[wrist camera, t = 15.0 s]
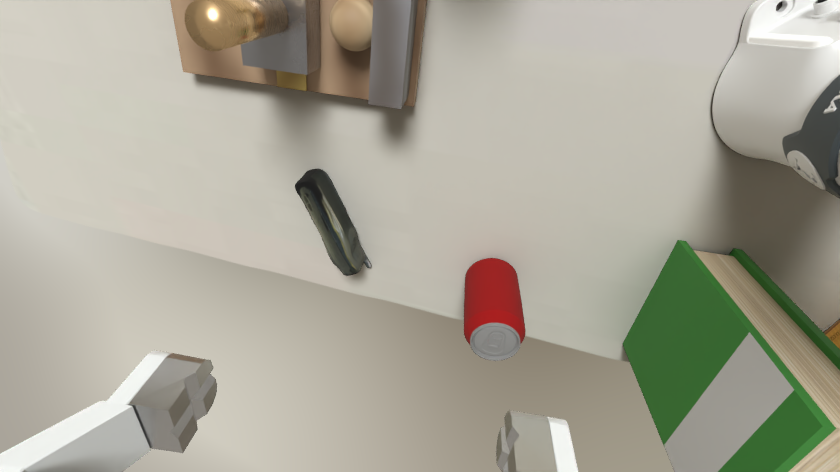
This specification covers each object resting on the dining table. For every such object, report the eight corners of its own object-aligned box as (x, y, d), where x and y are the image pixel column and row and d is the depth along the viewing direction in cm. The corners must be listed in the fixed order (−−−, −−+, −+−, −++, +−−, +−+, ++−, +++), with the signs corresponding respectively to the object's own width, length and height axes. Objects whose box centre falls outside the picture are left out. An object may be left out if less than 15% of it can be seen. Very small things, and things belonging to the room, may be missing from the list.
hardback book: (678, 240, 49) (822, 426, 29) (741, 249, 49) (933, 444, 28) (622, 343, 58) (701, 538, 38) (675, 352, 58) (783, 552, 38)
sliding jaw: (318, -43, 36) (245, -52, 24) (320, 67, 41) (259, 103, 29) (251, -52, 36) (145, -66, 24) (260, 58, 41) (176, 90, 29)
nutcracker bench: (433, -61, 36) (425, -68, 30) (415, 101, 44) (406, 121, 38) (166, -98, 37) (107, -113, 31) (194, 68, 44) (151, 82, 38)
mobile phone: (287, 187, 45) (347, 291, 52) (310, 179, 45) (368, 286, 51) (303, 170, 50) (357, 269, 56) (325, 163, 49) (376, 263, 55)
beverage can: (460, 289, 56) (457, 358, 46) (471, 249, 53) (471, 314, 43) (508, 299, 56) (516, 370, 46) (523, 260, 53) (535, 327, 42)
